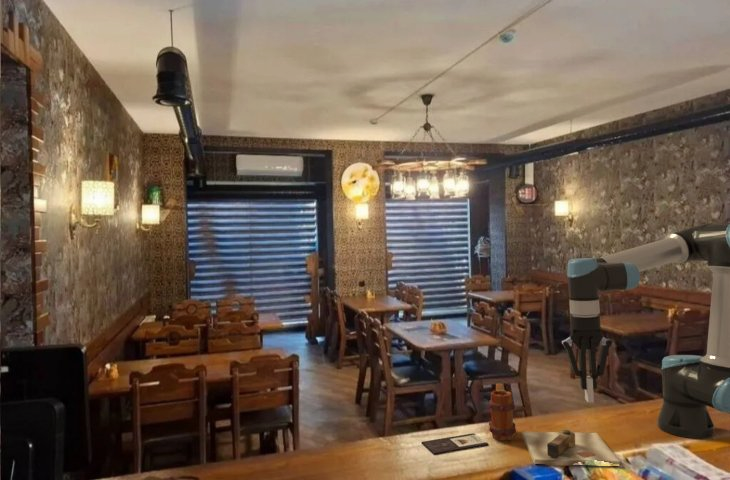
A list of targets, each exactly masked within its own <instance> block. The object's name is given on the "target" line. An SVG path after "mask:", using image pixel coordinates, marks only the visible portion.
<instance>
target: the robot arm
mask: <svg viewBox="0 0 730 480" xmlns="http://www.w3.org/2000/svg"><path fill="white" fill-rule="evenodd" d="M686 262H707V268H708V269H709V271H711V272H712V286H711V295H710V296H711V299H710V309H709V310H710V312H709V322H708V334H707V344H706V345H707V346H706V347H707V348H706V354H705V355H704V356H702V355H694V354H674V355H667V356H664V357H663V358H662V360H661V378H662V380H661V381H662V405H661V408H660V411H659V413H658V416H657V427H658V428H659V429H660V430H661V431H663V432H665V433H668V434H670V435H674V436H677V437H683V438H689V439H690V438H691V439H706V438H711V437H713V436H714V435H715V434H716V433H715V424H714V422H713V419H712V417H711V413H710V412H709V410H708V407H709V408H712V409H715V410H716V411H718V412H719V413H720V412H722V413H727V414H728V415H729V414H730V222H718V223H703V224H697V225H695V226H691V227H689V228H685V229H681V230H678V231H676V232H673V233H669V234H667V235H666V236H665V237H664V238H663V239H660V240H656V241H653V242H649V243H646V244H642V245H638V246H635V247H632V248H628V249H625V250H624V249H623V250H622V251H618V252H615V253H611V254H607V255H604V256H601V257H598V258H594V257H593V258H592V257H583V258H582V257H581V258H571V259H569V260H568V263H567V274H566V275H567V283H568V284H567V286H568V297H569V298H568V300H569V314H570V316H569V320H570V332H569V335H568V336H569V337H567V338H566V339H563V340H561V341H560V342H561V345H562V346H563V347H564V349H565V351H566V354H567V358H568V362H569V364H570V367H571V370H572V373H573V374H574V375H575V376H576V377H579V379H580V388H581V389H582V390H584V400H585V401H586V402H587V403H589V404H590V403H593V404H594V402H595V398H594V390H597V388H598V386H597V385H598V384H597V381H598V380H597V379H598V378H599V376H603V375H604V374H605V369H606V365H607V358H608V354H609V349H610V348H611V346H612V344H613V341H612V340H610V339H609V338H606V337H604V335H603V333H602V331H601V329H602V328H601V317H600V314H601V309H600V293H602V292H612V291H613V292H614V291H628V290H632V289H633V290H634V289H636V288H637V287H638V286H639V284H640V281H641V272H644V271H647V270H651V269H654V268H655V269H656V268H658V267H661V266H665V265H668V264H672V263H675V264H683V263H686ZM573 344H574V345H575V346H576V347H577V352H578V364H577V361H576V357H575V354H574V351H573V348H572V346H573ZM599 344H601V346H600V350H599V353H598V359H597V357H596V353H597V349H596V348H597V347H598V346H599ZM587 351H588V352H587ZM587 353H588V354H587ZM586 354H587V355H588V356H586ZM587 357H588V370H589V372H587ZM578 367H579V368H578ZM587 373H589V375H588V374H587Z"/></svg>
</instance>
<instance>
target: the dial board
mask: <svg viewBox="0 0 730 480" xmlns="http://www.w3.org/2000/svg"><path fill="white" fill-rule="evenodd" d="M573 432H574V431H573ZM574 433H575V446H574V447H568V448H567V449H566V450H565V451H563V452H562V453H561V454H560V455H559V456H558V457H557V458H556V457H552V456H548V450H547V444H548V443H549V442H551V441H552V440H554V439H555V438H556V437H557V436H559V431H521V436H522V438H523V441H524V443H525V446H526V448H527V450H528V453H529V455H530V457H531V459H532V461H533V464H534V465H535V464H546V465H545V466H566V467H567V466H568V467H569V466H570V467H571V466H572V465H573V464H574V463H578V462H581V463H583V462H585V461H588V460H597V461H604V462H609V463H613V464H619V465H620V466H621V463H620V462H621V460H620V459H618V458H617V456H616V455H615V454H614V452H613V451H612V450H611V449H610V448H609V447H608V445H607V443H605V442H604V440H603V439H602V438H601V436H599V434H598V433H597V432H576V431H575V432H574ZM572 467H573V466H572Z"/></svg>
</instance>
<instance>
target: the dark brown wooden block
mask: <svg viewBox="0 0 730 480" xmlns="http://www.w3.org/2000/svg"><path fill="white" fill-rule="evenodd" d="M558 432H559V436H557V437H556V438H555V439H554V440H552V441H551V442H549V443H548V444H547V450H548V456H552V457H556V458H557V457H558V456H559V455H560V454H561V453H562V452H563V451H565V450H566V449H567V448H568V447H574V446H575V433H574V431H571V430H569V429H562V430H559V431H558Z"/></svg>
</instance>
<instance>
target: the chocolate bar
mask: <svg viewBox="0 0 730 480" xmlns="http://www.w3.org/2000/svg"><path fill="white" fill-rule="evenodd" d="M421 445H422V446H423V447H424V448H426V449H427V450H428V451H429V452H430V453H431V454H432V455H434V456H436V455H442V454H448V453H454V452H459V451H466V450H471V449H476V448H483V447H489V446H488V445H490V444H489V443H488V441H487V442H486V441H485V440H484V439H483V438H481V437H480V436H478V435H477V434H476V433H468V434H461V435H456V436H455V435H453V436H448V437H441V438H436V439H431V440H430V439H429V440H423V441H421Z"/></svg>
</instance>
